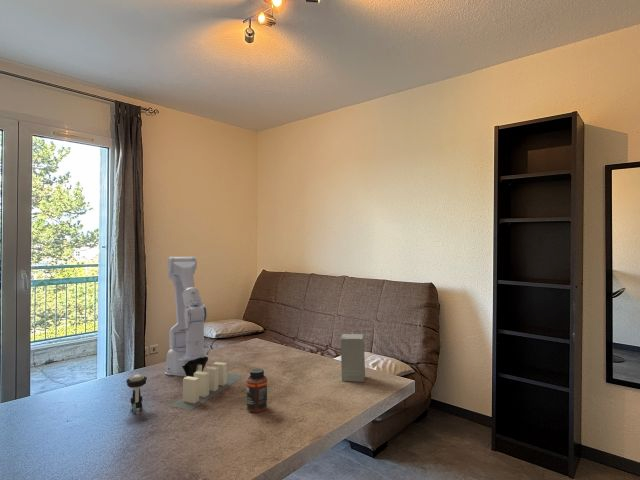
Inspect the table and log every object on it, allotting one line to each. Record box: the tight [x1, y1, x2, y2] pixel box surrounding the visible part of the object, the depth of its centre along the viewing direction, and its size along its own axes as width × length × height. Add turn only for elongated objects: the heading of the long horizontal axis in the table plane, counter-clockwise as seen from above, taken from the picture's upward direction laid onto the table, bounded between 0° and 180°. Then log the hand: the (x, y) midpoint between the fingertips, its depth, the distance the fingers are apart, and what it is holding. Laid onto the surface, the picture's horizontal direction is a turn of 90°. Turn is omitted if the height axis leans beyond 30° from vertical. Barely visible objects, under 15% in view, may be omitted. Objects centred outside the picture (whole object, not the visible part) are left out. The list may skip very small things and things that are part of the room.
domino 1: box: [182, 376, 199, 403], centre depth 111 cm, size 4×2×7 cm, turn 71°
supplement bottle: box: [246, 367, 268, 413], centre depth 107 cm, size 6×6×11 cm
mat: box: [169, 372, 245, 411], centre depth 120 cm, size 8×30×1 cm, turn 161°
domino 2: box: [196, 364, 202, 372], centre depth 125 cm, size 4×2×7 cm, turn 71°
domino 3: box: [194, 371, 209, 397], centre depth 116 cm, size 4×2×7 cm, turn 71°
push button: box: [125, 373, 148, 415], centre depth 105 cm, size 7×5×10 cm
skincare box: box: [340, 333, 366, 383], centre depth 132 cm, size 8×7×16 cm
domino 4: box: [203, 365, 219, 391], centre depth 121 cm, size 4×2×7 cm, turn 71°
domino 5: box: [212, 361, 228, 386], centre depth 125 cm, size 4×2×7 cm, turn 71°
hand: (194, 380), depth 125 cm, fingers open, 3 cm apart
